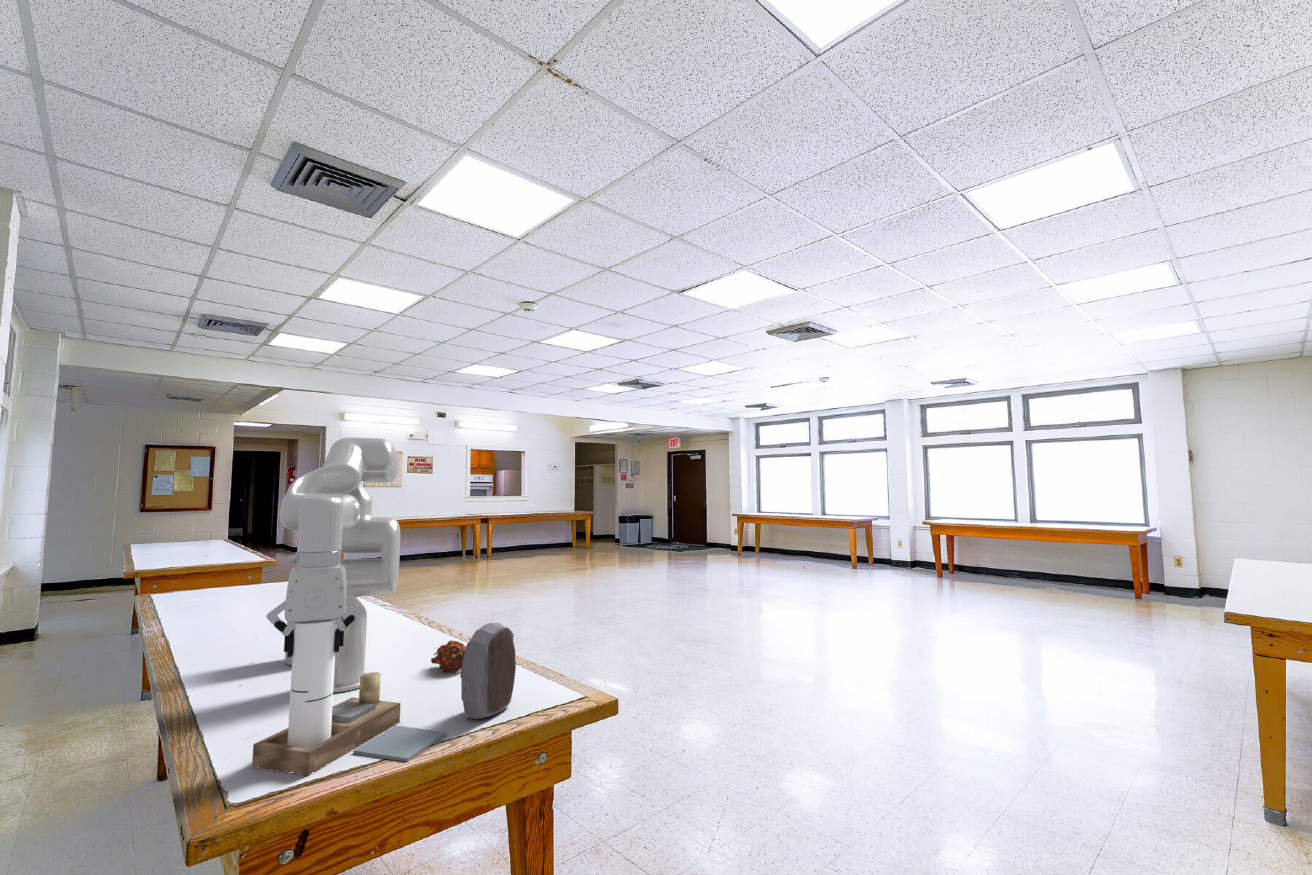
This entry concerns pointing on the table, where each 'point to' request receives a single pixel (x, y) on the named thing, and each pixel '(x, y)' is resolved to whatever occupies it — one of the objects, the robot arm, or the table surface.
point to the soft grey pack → (488, 671)
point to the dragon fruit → (449, 656)
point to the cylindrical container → (312, 683)
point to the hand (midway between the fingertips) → (314, 652)
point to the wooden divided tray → (332, 732)
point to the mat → (400, 743)
